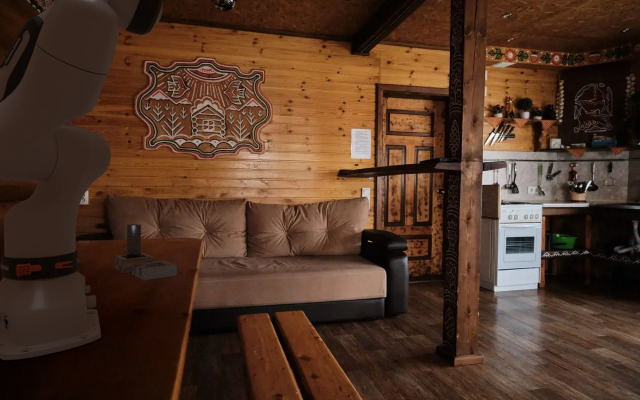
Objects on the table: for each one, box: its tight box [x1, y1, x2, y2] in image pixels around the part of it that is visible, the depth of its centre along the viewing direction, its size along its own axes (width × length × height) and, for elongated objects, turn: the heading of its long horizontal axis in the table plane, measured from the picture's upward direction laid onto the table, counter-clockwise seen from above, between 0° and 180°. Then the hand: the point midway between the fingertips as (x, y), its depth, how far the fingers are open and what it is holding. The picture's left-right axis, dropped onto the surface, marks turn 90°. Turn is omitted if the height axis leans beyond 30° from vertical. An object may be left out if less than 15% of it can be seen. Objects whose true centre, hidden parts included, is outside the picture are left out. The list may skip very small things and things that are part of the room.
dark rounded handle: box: [126, 223, 142, 259], centre depth 122 cm, size 4×4×14 cm
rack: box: [113, 252, 155, 274], centre depth 122 cm, size 9×9×4 cm
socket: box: [131, 259, 178, 282], centre depth 115 cm, size 10×10×3 cm
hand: (69, 179), depth 104 cm, fingers open, 8 cm apart
